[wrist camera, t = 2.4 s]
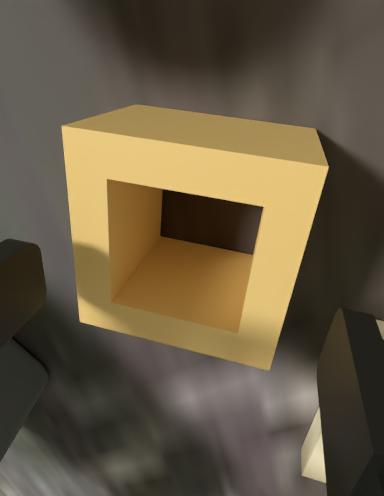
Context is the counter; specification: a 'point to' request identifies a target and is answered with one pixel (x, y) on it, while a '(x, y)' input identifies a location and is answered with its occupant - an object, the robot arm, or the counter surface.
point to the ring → (182, 252)
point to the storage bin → (17, 390)
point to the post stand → (318, 443)
